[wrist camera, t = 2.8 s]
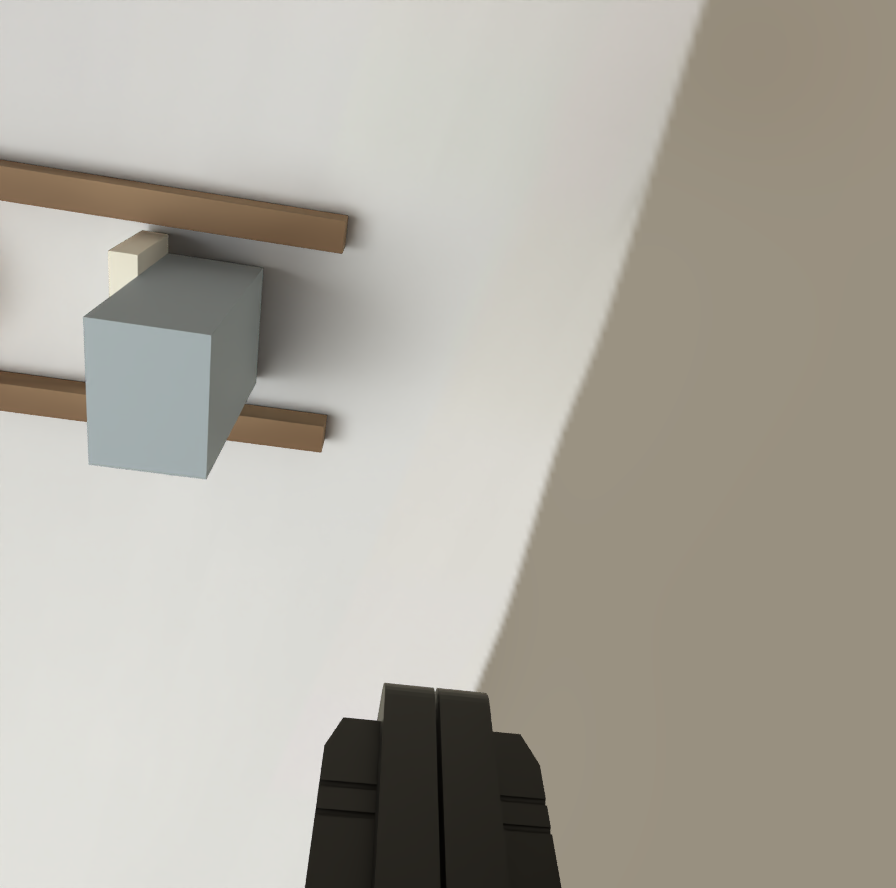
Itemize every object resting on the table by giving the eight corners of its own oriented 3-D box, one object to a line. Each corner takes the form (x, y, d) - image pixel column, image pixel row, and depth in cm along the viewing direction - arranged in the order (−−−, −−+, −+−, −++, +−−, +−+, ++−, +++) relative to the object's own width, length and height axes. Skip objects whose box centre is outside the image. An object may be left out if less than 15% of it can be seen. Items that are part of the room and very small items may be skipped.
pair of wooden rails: (-262, 117, 23) (-289, 119, 22) (348, 215, 25) (345, 221, 24) (-209, 369, 26) (-231, 380, 26) (324, 440, 28) (321, 452, 27)
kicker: (142, 230, 25) (46, 286, 18) (264, 249, 25) (211, 311, 19) (143, 382, 27) (58, 481, 20) (255, 398, 27) (205, 499, 21)
